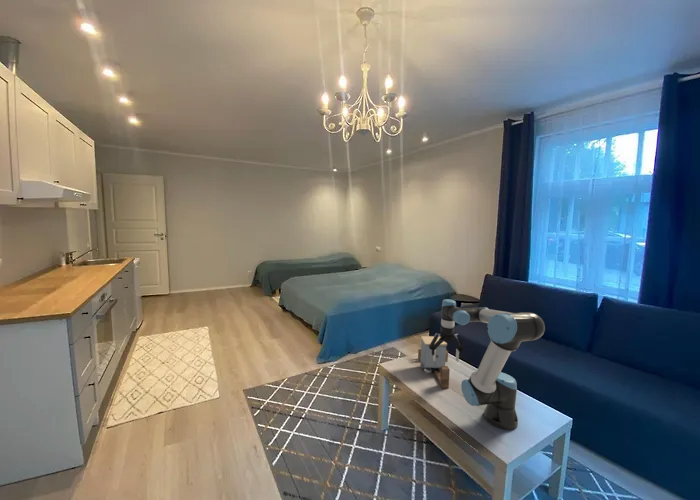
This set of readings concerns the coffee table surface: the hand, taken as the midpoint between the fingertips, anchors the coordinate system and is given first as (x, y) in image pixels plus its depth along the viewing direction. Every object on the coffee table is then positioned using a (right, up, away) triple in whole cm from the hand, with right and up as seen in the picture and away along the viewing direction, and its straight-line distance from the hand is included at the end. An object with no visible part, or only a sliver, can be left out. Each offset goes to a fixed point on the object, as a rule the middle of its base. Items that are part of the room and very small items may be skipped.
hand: (445, 360), depth 175 cm
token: (-5, -15, +19) cm, 25 cm away
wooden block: (0, -16, +8) cm, 18 cm away
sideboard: (-2, -14, +20) cm, 25 cm away
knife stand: (+2, -13, +35) cm, 37 cm away
